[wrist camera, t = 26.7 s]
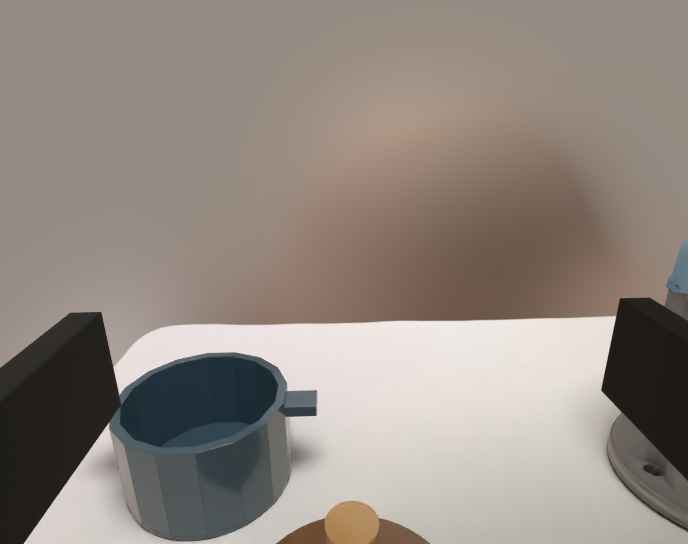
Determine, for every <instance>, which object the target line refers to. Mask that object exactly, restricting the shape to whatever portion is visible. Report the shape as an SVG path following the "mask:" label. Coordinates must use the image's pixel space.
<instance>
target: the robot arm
mask: <svg viewBox="0 0 688 544" xmlns="http://www.w3.org/2000/svg"><path fill="white" fill-rule="evenodd" d="M667 287H668V289H669V290H668V295H667V299H666V304H665V307H664V306H662V305H661V304H659V303H658V302H656V301H654V300H653V299H651V298H620V301H619V306H618V311H617V316H616V321H615V325H614V330H613V335H612V340H611V345H610V350H609V355H608V360H607V365H606V369H605V374H604V379H603V384H602V389H601V391H602V392H603V393H604V394H605V395H606V396H607V397H608V398H609V399H610V400H611V401H612V402H613V403H614V404H615V405H616V406H617V408H618V409H619V410H620V411H621V414H620V415H619V416H618V417H617V419H616V421H615V422H614V424H613V425H612V428H611V432H610V437H609V441H608V455H609V459H610V461H611V464H612V466H613V468H614V469H615V471H616V473H617V474H618V475H619V477H620V478H621V479H622V481H623V482H624V483H625V484H626V485H627V486H628V487H629V488H630V489H631V490H632V491H633V492H634V493H635V494H636V495H637V496H638V497H639V498H641V499H642V500H643V501H644V502H645V503H647V504H648V505H650V506H651V507H652V508H654V509H655V510H656V511H658V512H659V513H661V514H662V515H664V516H666V517H667V518H669V519H671V520H672V521H674V522H676V523H678V524H680V525H682V526H683V527H685V528H687V529H688V237H687V238H686V239H685V241H684V242H683V243H682V245H681V248H680V250H679V254H678V257H677V260H676V263H675V266H674V269H673V273H672V275H671V276H670V277H669V279H668V280H667ZM120 406H121V401H120V396H119V392H118V387H117V383H116V378H115V373H114V369H113V364H112V360H111V355H110V350H109V346H108V341H107V336H106V332H105V327H104V323H103V318H102V313H101V312H89V313H88V312H87V313H86V312H85V313H70V314H68V315H67V316H66V317H64V318H63V319H62V320H61V321H59V322H58V323H57V324H56V325H54V326H53V327H52V328H51V329H49V330H48V331H47V332H45V333H44V334H43V335H42V336H40V337H39V338H38V339H36V340H35V341H34V342H33V343H32V344H30V345H29V346H28V347H26V348H25V349H24V350H23V351H21V352H20V353H19V354H18V355H16V356H15V357H14V358H12V359H11V360H10V361H9V362H7V363H6V364H5V365H3V366H2V367H1V368H0V544H24V542H25V541H26V539H27V538H28V537H29V535H30V534H31V532H32V531H33V530H34V528H35V527H36V525H37V524H38V522H39V521H40V520H41V518H42V517H43V515H44V514H45V513H46V511H47V510H48V508H49V507H50V505H51V504H52V503H53V501H54V500H55V498H56V497H57V495H58V494H59V493H60V491H61V490H62V488H63V487H64V486H65V484H66V483H67V481H68V480H69V478H70V477H71V476H72V474H73V473H74V471H75V470H76V469H77V467H78V466H79V464H80V463H81V461H82V460H83V459H84V457H85V456H86V454H87V453H88V452H89V450H90V449H91V447H92V446H93V444H94V443H95V442H96V440H97V439H98V437H99V436H100V434H101V433H102V432H103V430H104V429H105V427H106V426H107V425H108V423H109V422H110V420H111V419H112V417H113V416H114V415H115V413H116V412H117V410H118V409H119V408H120Z"/></svg>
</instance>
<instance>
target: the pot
mask: <svg viewBox="0 0 688 544" xmlns="http://www.w3.org/2000/svg"><path fill="white" fill-rule="evenodd" d="M120 401H121V406H120V408H119V409H118V410H117V412H116V413H115V415H114V416H113V417H112V419H111V420H110V424H109V429H110V434H111V438H112V442H113V447H114V451H115V455H116V460H117V464H118V468H119V473H120V477H121V481H122V486H123V490H124V494H125V499H126V503H127V506H128V508H129V509H130V511H131V513H132V515H133V517H134V518H135V520H136V521H137V522H138V523H139V524H140V525H141V526H142V527H143V528H144V529H146V530H147V531H148V532H150V533H153V534H155V535H157V536H160V537H163V538H166V539H172V540H178V541H194V540H204V539H209V538H214V537H218V536H221V535H224V534H227V533H230V532H232V531H235V530H237V529H239V528H241V527H243V526H245V525H247V524H248V523H250V522H252V521H253V520H255V519H256V518H258V517H259V516H260V515H262V514H263V513H264V512H265V511H266V510H268V509H269V508H270V507H271V506H272V504H273V503H274V502H275V501H276V500H277V499H278V497H279V496H280V495H281V493H282V492H283V490H284V488H285V486H286V484H287V482H288V479H289V476H290V471H291V457H292V448H291V433H290V419H289V417H294V416H317V390H314V391H288V390H287V382H286V381H285V379H284V377H283V376H282V374H281V372H280V370H279V369H278V368H277V367H276V366H274V365H272V364H271V363H269V362H267V361H265V360H263V359H262V358H259V357H255V356H250V355H245V354H240V353H235V352H233V353H207V354H201V355H197V356H192V357H187V358H183V359H178V360H175V361H173V362H170V363H168V364H165V365H163V366H160V367H158V368H156V369H153V370H151V371H149V372H147V373H146V374H144V375H143V376H141V377H140V378H138V379H137V380H136V381H134V382H133V383H131V384H130V385H128V386H127V387H126V388H125V389H124V390H123V391H122V393H121V394H120Z"/></svg>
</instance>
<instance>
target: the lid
mask: <svg viewBox="0 0 688 544" xmlns="http://www.w3.org/2000/svg"><path fill="white" fill-rule="evenodd" d="M277 544H430V543H428V542H427V541H426V540H425V539H424V538H422V537H421V536H419V535H417V534H416V533H414V532H413V531H411V530H409V529H407V528H405V527H403V526H401V525H399V524H396V523H393V522H391V521H388V520H384V519H380V518H378V516H377V514H376V513H375V511H374V510H373V509H372V508H371V507H369V506H368V505H366V504H364V503H361V502H357V501H347V502H343V503H340V504H338V505H336V506H335V507H333V508H332V509H331V510H330V512H329V513H328V515H327V517H326V518H325V519H322V520H318V521H315V522H312V523H310V524H308V525H305V526H303V527H301V528H299V529H297V530H295V531H294V532H292V533H290V534H289V535H287V536H286V537H284V538H283V539H282V540H280V541H279V542H278V543H277Z"/></svg>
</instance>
